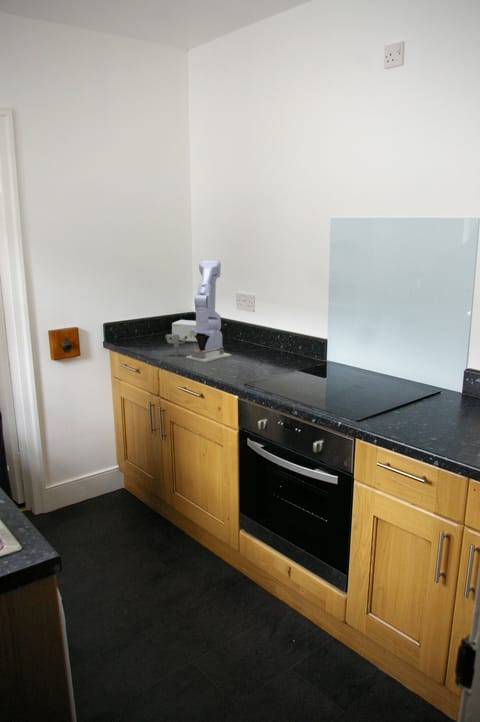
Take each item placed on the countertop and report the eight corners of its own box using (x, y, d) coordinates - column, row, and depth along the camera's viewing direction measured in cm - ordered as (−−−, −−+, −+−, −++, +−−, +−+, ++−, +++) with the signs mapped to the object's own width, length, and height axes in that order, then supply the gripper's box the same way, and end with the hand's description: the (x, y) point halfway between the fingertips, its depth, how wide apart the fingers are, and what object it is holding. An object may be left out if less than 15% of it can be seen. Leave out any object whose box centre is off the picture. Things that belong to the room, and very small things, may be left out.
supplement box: (171, 340, 316) (171, 322, 313) (181, 335, 328) (181, 319, 326) (200, 342, 310) (200, 324, 308) (209, 338, 323) (209, 321, 321)
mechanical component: (186, 356, 276) (186, 335, 274) (165, 356, 276) (164, 335, 274) (187, 355, 279) (187, 334, 277) (166, 354, 279) (165, 334, 277)
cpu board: (213, 352, 286) (213, 344, 285) (231, 356, 278) (231, 348, 277) (186, 358, 273) (186, 350, 272) (204, 362, 265) (204, 354, 264)
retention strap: (215, 347, 281) (215, 345, 281) (222, 348, 278) (222, 346, 278) (193, 352, 270) (193, 350, 270) (200, 353, 268) (200, 351, 267)
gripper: (185, 320, 270) (185, 348, 273) (207, 323, 261) (207, 353, 264) (196, 318, 275) (196, 346, 278) (218, 322, 266) (218, 351, 269)
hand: (202, 349), depth 271 cm, fingers closed
